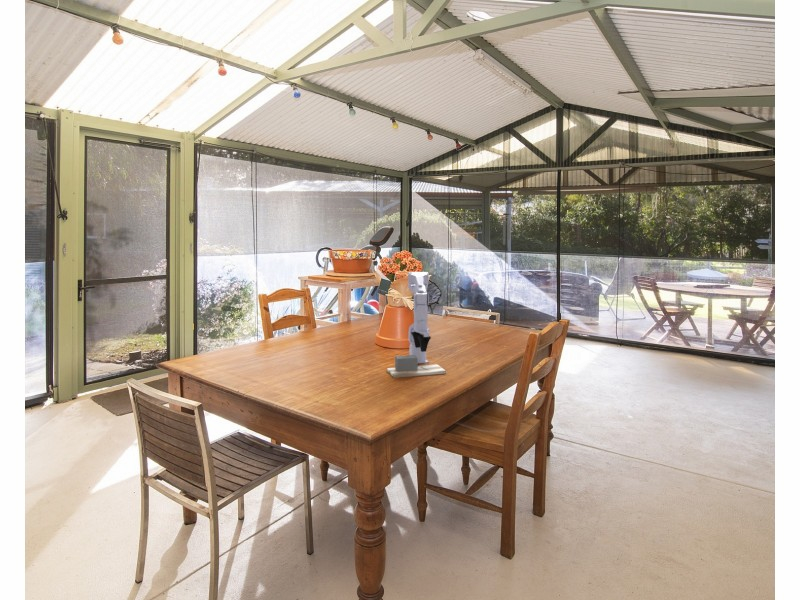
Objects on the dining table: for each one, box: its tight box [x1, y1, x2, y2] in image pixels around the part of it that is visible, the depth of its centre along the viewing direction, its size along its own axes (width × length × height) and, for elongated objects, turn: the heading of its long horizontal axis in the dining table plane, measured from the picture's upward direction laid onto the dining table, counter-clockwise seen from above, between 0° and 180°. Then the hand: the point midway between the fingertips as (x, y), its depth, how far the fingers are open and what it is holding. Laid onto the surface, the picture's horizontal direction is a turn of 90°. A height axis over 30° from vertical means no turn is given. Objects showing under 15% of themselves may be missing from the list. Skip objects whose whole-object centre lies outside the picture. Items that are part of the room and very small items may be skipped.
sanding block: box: [394, 354, 419, 372], centre depth 217 cm, size 5×9×6 cm, turn 102°
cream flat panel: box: [386, 363, 447, 379], centre depth 219 cm, size 11×24×1 cm, turn 107°
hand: (420, 349), depth 221 cm, fingers open, 7 cm apart
